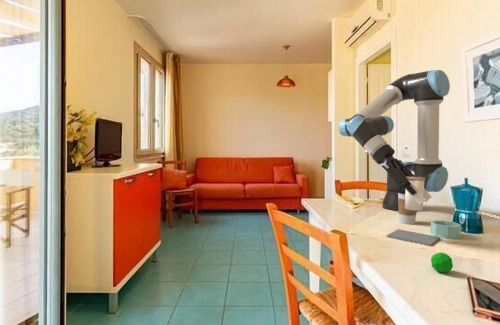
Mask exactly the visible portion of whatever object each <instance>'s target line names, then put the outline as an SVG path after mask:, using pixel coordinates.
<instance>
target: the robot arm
mask: <svg viewBox="0 0 500 325" xmlns="http://www.w3.org/2000/svg"><path fill="white" fill-rule="evenodd" d="M450 89H451V85H450V79H449V76H448V75H447V73H446V72H445V71H443V70H441V69H432V70H431V69H430V70H426V71H419V72H416V73H409V74H406V75H405V74H404V76H401V77H400V78H397V79H396V80H394V81H393V82H391V83H389V84H388V85H387V86H386V87H384V89H383V92H382V93H381V94H379V95H378V96H377V97H376V98H374V99H373V100H372V101H371V102H369V103H368V104H366V105H365V106H364V107H363V108H362V109H360V110H358V112H356V114H354V115H353V116H352V117H350V118H344V119H343V118H342V120H340V121H339V124H338V127H337V128H338V132H339V134H340V135H341V136H342V137H349V138H350V137H352V138H354V139H355V141H357V143H359V145H360V146H361V147H362V148H363V149H364V151H365V153H366V154H368V155H369V156H370V157H371V158H372V160H373V161H374V162H375V163H376V164H377V165H381V167H382V168H383V169H384V170H385V171H386V192H385V195H384V198H383V200H382V203H381V205H382V209H386V210H390V211H398V212H399V209H398V192H397V190H398V187H401V189H402V190H404V189H405V188H406V190H407V191H408V192H409V194H410V195H411V196H412V197H413V198H414V199H415V200H416V201H417V202H418V203H419V204H421V203H422V202H423V203H427V201H428V202H429V200H430V199H432V198H433V196H432V195H431V194H430V193H431V192H433V193H438V192H441V191H442V190H443V189H444V188H445V187H446V185H447V183H448V179H449V171H448V168H446V167H445V166H443V161H442V160H441V159H440V158H439V155H440V154H439V153H440V152H439V151H440V150H439V149H440V105H441V103H443V102H444V97H446V96H447V95H448V94H449V92H450ZM409 100H413V103H414V104H415V105H416V106H417V137H416V138H417V146H416V147H417V148H416V149H417V150H416V152H417V153H416V154H417V155H416V157H417V158H416V159H415V160H414V161H404V162H403V161H402V160H401V159H397V158H395V157H394V154H395V153H396V152H395V151H396V150H395V148H393V147H392V146H391V145H390V144H388V142H387V140H385V139H384V137H383V136H386V135H387V134H388V135H389V134H390V133H392V131H393V130H394V127H395V124H394V123H395V122H394V120H393V119H392V117H390V116H389V115H383V114H384V113H386V112H387V111H388V110H389V109H390V108H392V107H393V106H395V105H398V104H401V102H404V101H409ZM406 176H419V177H425V180H424V196H423V195H422V194H421V193H420V191H419V190H418V189H417V188H416V187H415V186H414V185H413V184H411V183H410V182H409V181H408V180H407V178H406ZM410 184H411V185H410Z"/></svg>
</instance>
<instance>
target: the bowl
mask: <svg viewBox="0 0 500 325" xmlns="http://www.w3.org/2000/svg"><path fill="white" fill-rule="evenodd" d="M429 232H430V235H431V236H437V237H440V239H441V238H442V239H446V240H447V239H448V240H457V239H461V235H462V224H461V223H460V224H459V223H457V222H456V221H448V220H440V219H439V220H436V219H435V220H432V221H431V222H430V231H429Z"/></svg>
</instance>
